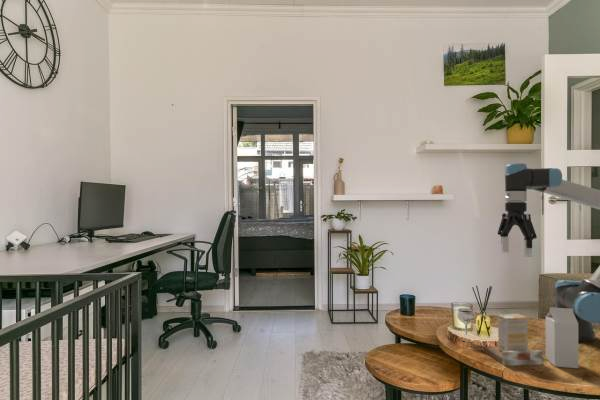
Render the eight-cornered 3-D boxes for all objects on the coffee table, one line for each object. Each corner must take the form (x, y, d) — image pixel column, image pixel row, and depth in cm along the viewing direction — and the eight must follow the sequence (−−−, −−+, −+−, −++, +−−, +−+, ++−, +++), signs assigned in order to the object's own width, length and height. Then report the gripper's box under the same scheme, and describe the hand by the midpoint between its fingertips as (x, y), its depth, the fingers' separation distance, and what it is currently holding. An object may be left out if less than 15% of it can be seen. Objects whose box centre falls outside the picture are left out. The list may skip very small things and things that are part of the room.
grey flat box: (518, 350, 140) (518, 338, 140) (543, 364, 128) (543, 351, 128) (483, 351, 139) (483, 339, 139) (504, 366, 126) (504, 352, 127)
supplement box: (518, 349, 136) (518, 313, 136) (528, 354, 131) (528, 317, 132) (497, 350, 135) (497, 313, 135) (506, 355, 130) (506, 317, 131)
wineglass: (453, 339, 151) (453, 309, 152) (462, 336, 156) (462, 307, 156) (470, 344, 146) (470, 313, 146) (478, 340, 150) (478, 310, 150)
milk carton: (578, 368, 125) (578, 311, 125) (554, 367, 126) (554, 310, 126) (567, 360, 132) (567, 306, 132) (545, 358, 133) (545, 305, 133)
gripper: (488, 202, 164) (488, 250, 163) (528, 201, 139) (528, 258, 138) (504, 202, 164) (504, 250, 164) (547, 201, 140) (547, 258, 139)
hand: (515, 254), depth 151 cm, fingers open, 13 cm apart
